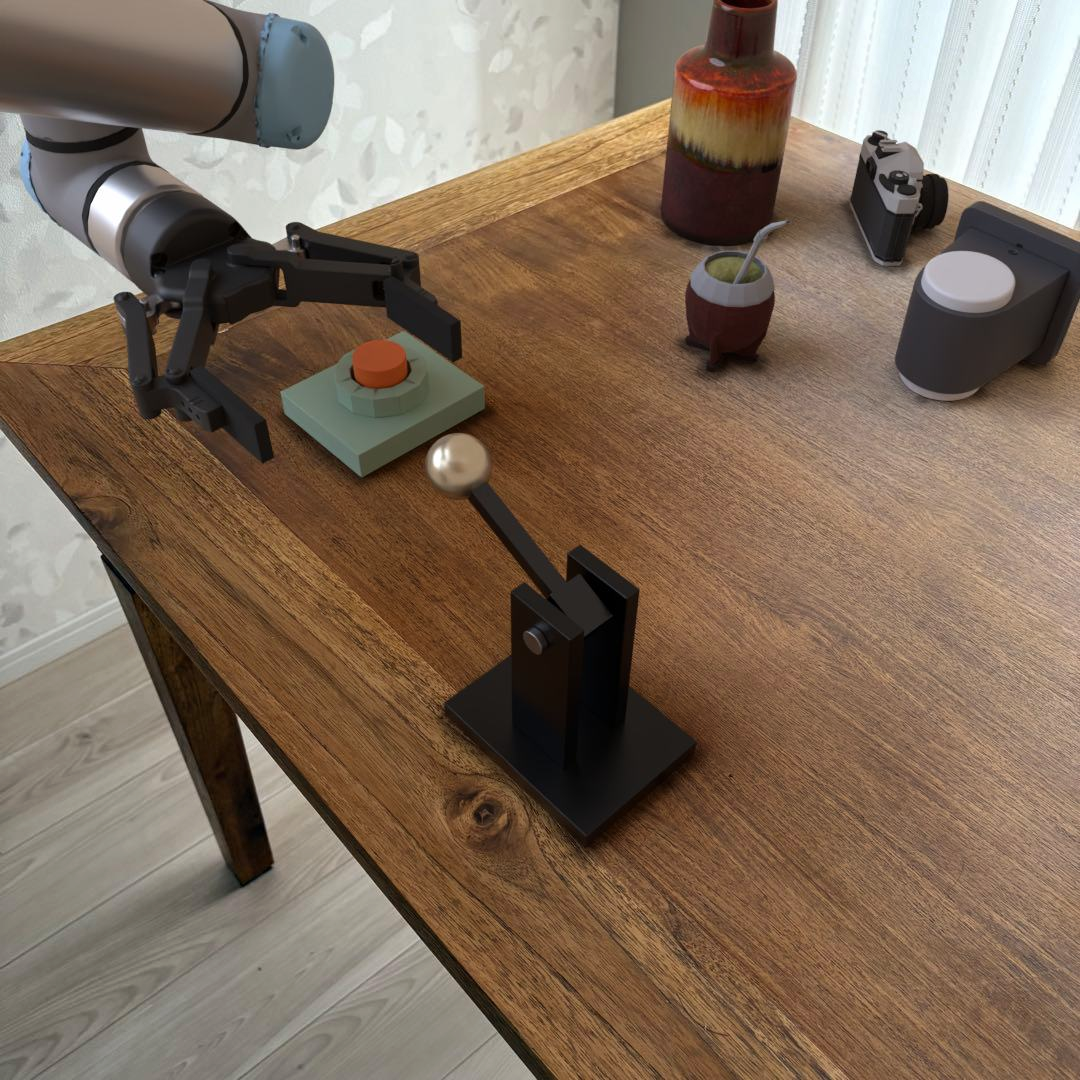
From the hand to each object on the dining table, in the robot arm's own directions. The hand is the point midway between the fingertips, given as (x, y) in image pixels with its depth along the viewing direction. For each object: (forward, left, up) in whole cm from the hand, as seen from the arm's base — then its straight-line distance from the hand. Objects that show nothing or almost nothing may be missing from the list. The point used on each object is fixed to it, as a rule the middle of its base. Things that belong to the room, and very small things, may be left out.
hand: (366, 389), depth 63 cm
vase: (+46, +29, -16) cm, 57 cm away
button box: (+6, +16, -16) cm, 24 cm away
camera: (+60, +19, -16) cm, 65 cm away
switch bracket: (+4, -17, -16) cm, 23 cm away
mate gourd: (+34, +10, -16) cm, 39 cm away
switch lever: (+3, -11, -4) cm, 12 cm away
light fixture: (+50, 0, -16) cm, 53 cm away
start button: (+6, +16, -12) cm, 21 cm away
